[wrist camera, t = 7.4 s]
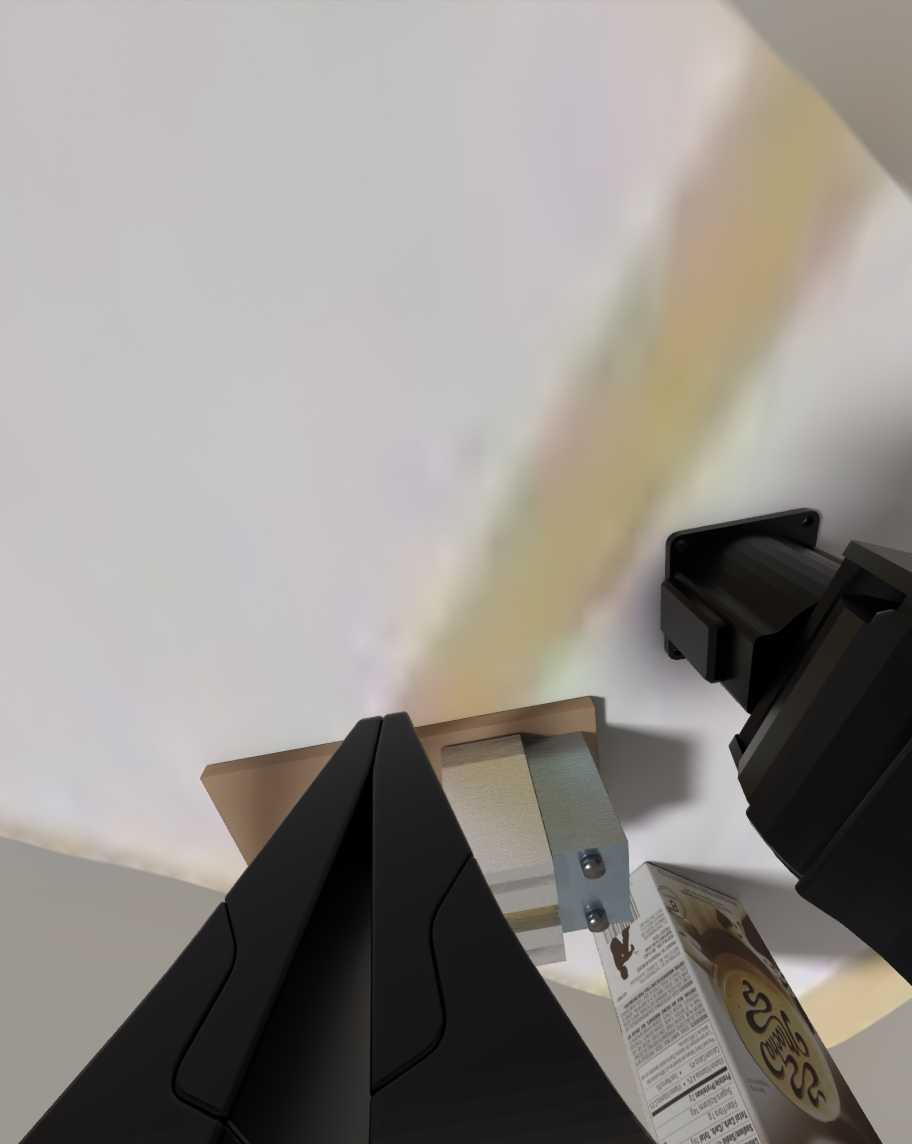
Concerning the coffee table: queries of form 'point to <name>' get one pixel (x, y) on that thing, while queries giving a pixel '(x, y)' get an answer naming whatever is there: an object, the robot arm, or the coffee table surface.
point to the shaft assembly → (580, 833)
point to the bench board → (277, 781)
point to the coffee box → (718, 1026)
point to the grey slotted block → (507, 838)
